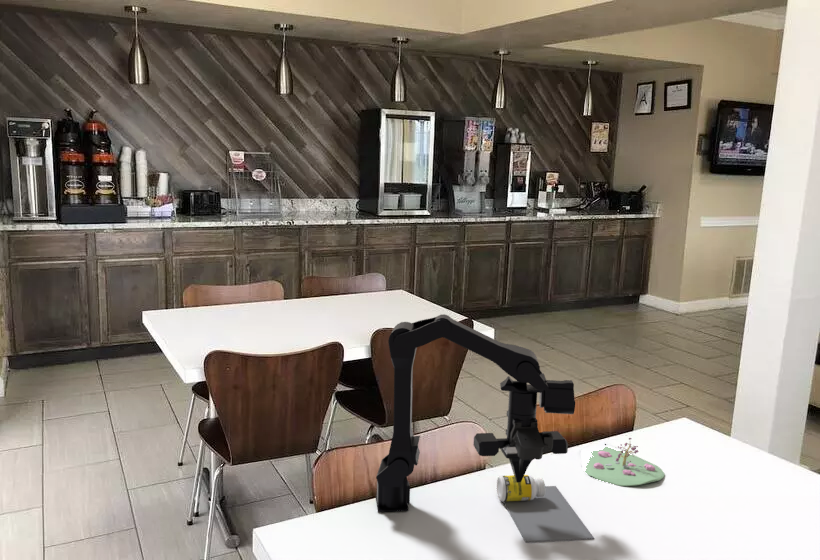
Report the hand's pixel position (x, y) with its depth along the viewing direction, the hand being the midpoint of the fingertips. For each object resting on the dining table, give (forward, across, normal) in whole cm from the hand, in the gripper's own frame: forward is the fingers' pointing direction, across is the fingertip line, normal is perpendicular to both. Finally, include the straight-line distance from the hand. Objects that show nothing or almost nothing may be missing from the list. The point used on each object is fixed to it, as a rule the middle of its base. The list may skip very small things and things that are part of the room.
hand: (518, 481), depth 139 cm
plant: (+8, +32, +22) cm, 40 cm away
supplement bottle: (+4, -3, +6) cm, 7 cm away
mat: (+7, +6, 0) cm, 9 cm away
